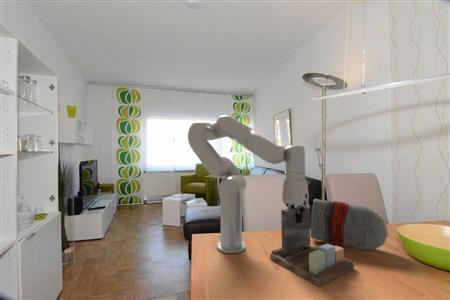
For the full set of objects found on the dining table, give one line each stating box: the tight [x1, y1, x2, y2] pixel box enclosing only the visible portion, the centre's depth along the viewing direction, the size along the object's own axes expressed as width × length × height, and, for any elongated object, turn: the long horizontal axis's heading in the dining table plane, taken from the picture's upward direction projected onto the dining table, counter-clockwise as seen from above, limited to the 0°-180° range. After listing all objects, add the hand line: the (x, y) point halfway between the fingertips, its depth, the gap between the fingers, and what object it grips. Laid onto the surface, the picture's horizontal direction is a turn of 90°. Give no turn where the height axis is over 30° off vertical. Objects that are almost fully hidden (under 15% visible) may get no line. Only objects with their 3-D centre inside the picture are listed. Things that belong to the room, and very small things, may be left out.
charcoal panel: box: [280, 206, 311, 253], centre depth 92 cm, size 2×14×16 cm, turn 122°
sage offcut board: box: [308, 250, 326, 276], centre depth 77 cm, size 3×5×8 cm, turn 122°
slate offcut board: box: [318, 243, 335, 270], centre depth 80 cm, size 3×5×9 cm, turn 122°
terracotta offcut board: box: [335, 246, 345, 265], centre depth 83 cm, size 3×5×7 cm, turn 122°
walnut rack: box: [269, 244, 355, 287], centre depth 86 cm, size 22×20×3 cm
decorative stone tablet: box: [310, 198, 389, 251], centre depth 102 cm, size 19×6×30 cm
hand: (296, 221), depth 92 cm, fingers closed on charcoal panel, 2 cm apart
